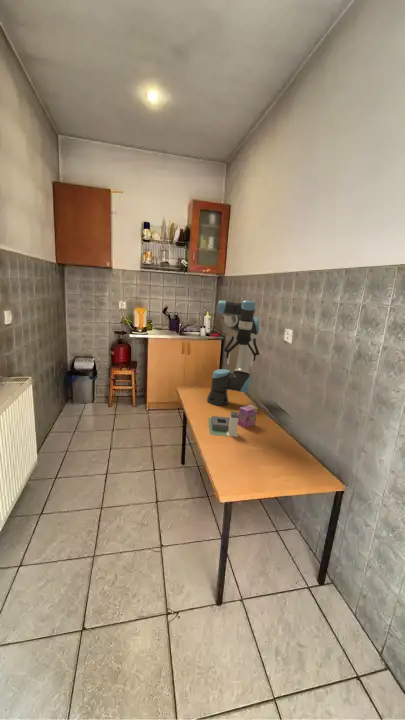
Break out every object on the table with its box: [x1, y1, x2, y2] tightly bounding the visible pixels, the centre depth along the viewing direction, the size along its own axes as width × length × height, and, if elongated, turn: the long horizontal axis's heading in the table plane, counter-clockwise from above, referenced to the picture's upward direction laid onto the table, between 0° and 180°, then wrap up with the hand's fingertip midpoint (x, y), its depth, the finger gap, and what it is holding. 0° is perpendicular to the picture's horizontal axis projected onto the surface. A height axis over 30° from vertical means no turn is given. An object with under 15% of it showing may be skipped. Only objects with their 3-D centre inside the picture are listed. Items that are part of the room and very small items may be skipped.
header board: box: [208, 415, 240, 438], centre depth 173 cm, size 21×16×4 cm
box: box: [237, 404, 259, 429], centre depth 179 cm, size 10×6×12 cm, turn 131°
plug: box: [228, 411, 239, 435], centre depth 165 cm, size 4×4×12 cm
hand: (239, 364), depth 173 cm, fingers open, 13 cm apart
